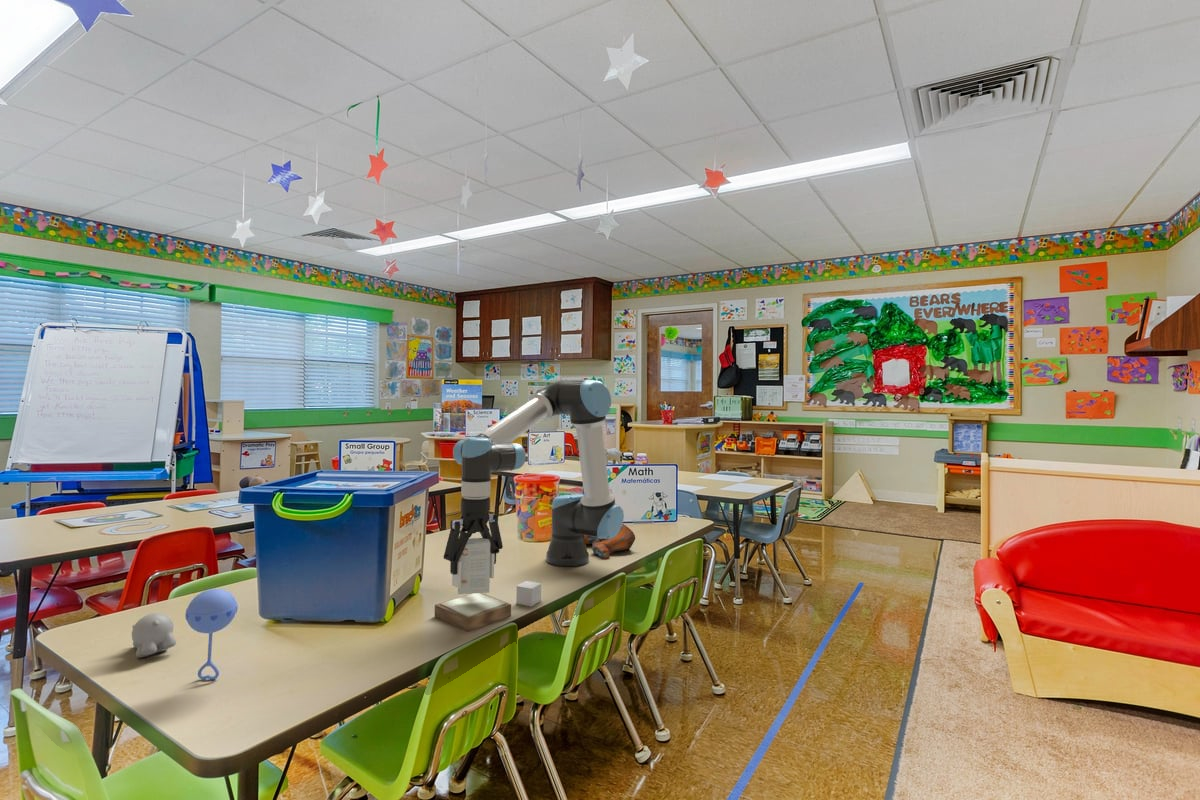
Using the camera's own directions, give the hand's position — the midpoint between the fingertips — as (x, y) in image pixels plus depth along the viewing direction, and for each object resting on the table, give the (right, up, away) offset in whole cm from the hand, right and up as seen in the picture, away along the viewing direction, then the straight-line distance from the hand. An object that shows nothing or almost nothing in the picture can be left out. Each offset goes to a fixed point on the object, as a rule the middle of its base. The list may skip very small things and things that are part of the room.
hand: (473, 581), depth 150 cm
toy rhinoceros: (-66, -8, -24) cm, 71 cm away
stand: (0, -9, 0) cm, 9 cm away
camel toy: (+33, -10, +70) cm, 77 cm away
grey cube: (+13, -9, +11) cm, 20 cm away
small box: (0, -2, 0) cm, 2 cm away
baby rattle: (-45, -9, -36) cm, 58 cm away
